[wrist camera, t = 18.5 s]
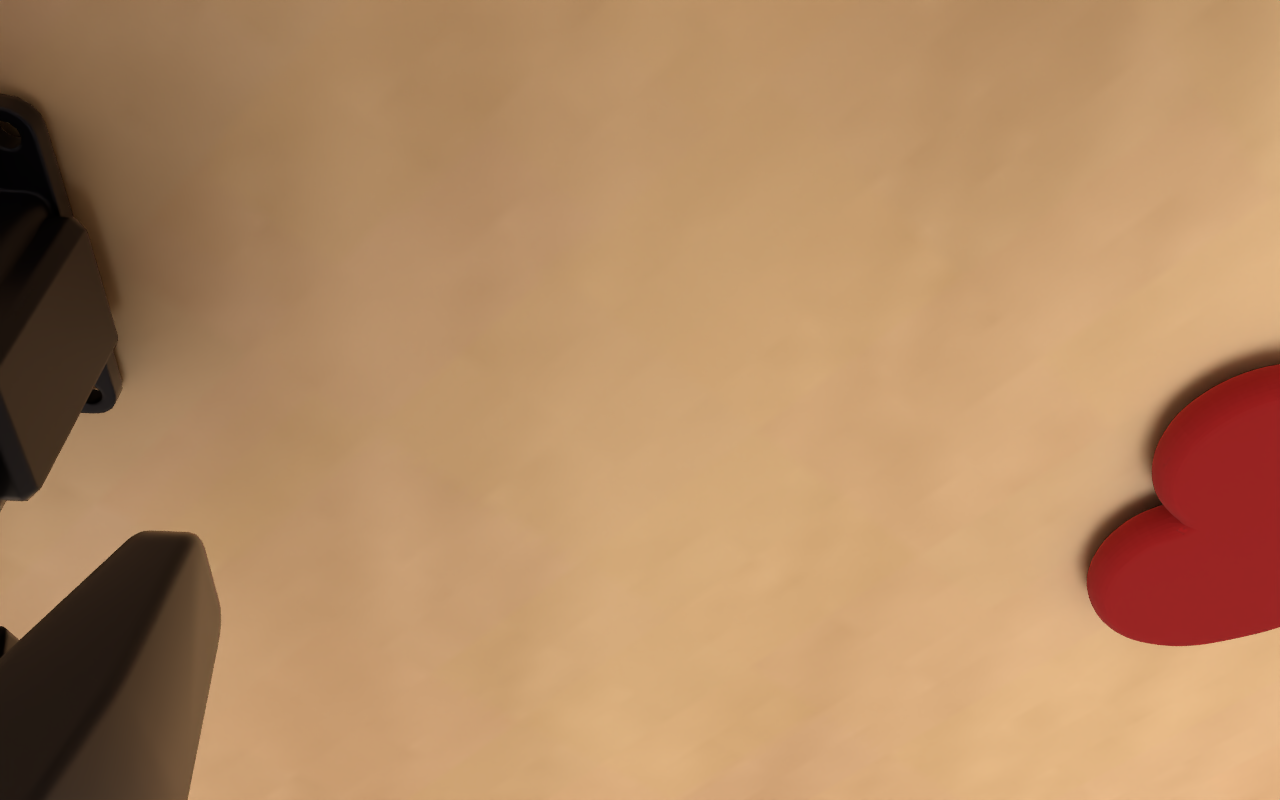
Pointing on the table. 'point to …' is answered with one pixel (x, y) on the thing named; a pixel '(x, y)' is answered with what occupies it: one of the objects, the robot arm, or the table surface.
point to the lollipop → (1203, 526)
